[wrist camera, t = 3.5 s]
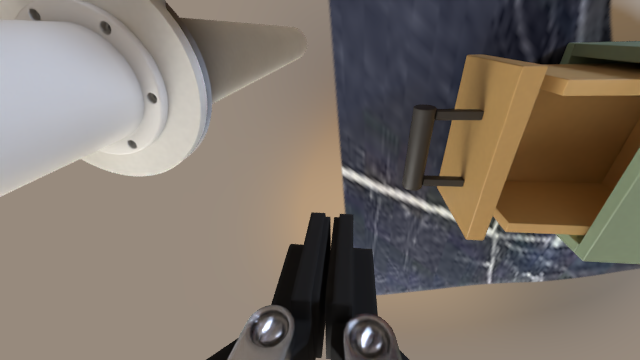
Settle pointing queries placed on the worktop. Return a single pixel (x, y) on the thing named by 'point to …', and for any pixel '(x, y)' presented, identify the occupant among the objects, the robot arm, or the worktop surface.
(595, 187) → the wooden pull-out drawer
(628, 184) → the green box
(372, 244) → the worktop surface
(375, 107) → the worktop surface
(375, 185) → the worktop surface
